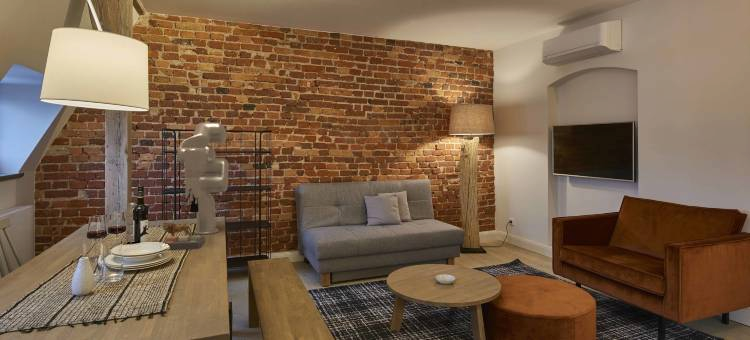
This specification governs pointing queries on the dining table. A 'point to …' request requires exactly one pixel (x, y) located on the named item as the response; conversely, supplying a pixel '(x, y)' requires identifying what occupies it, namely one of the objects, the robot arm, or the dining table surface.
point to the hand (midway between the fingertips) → (194, 212)
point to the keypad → (185, 244)
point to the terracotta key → (172, 238)
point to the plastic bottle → (129, 222)
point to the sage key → (195, 237)
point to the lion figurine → (176, 228)
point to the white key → (184, 238)
